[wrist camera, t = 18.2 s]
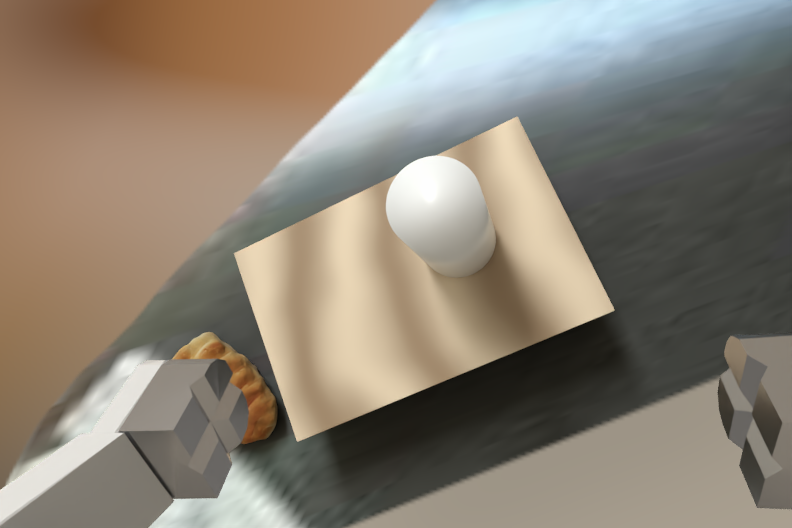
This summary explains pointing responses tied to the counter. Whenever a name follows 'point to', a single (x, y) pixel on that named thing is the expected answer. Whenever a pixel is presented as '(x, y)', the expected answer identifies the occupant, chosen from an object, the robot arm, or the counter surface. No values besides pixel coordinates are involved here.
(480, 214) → the white rounded block
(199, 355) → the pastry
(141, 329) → the counter surface
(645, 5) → the counter surface
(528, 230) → the wooden board
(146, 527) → the robot arm
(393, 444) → the counter surface
